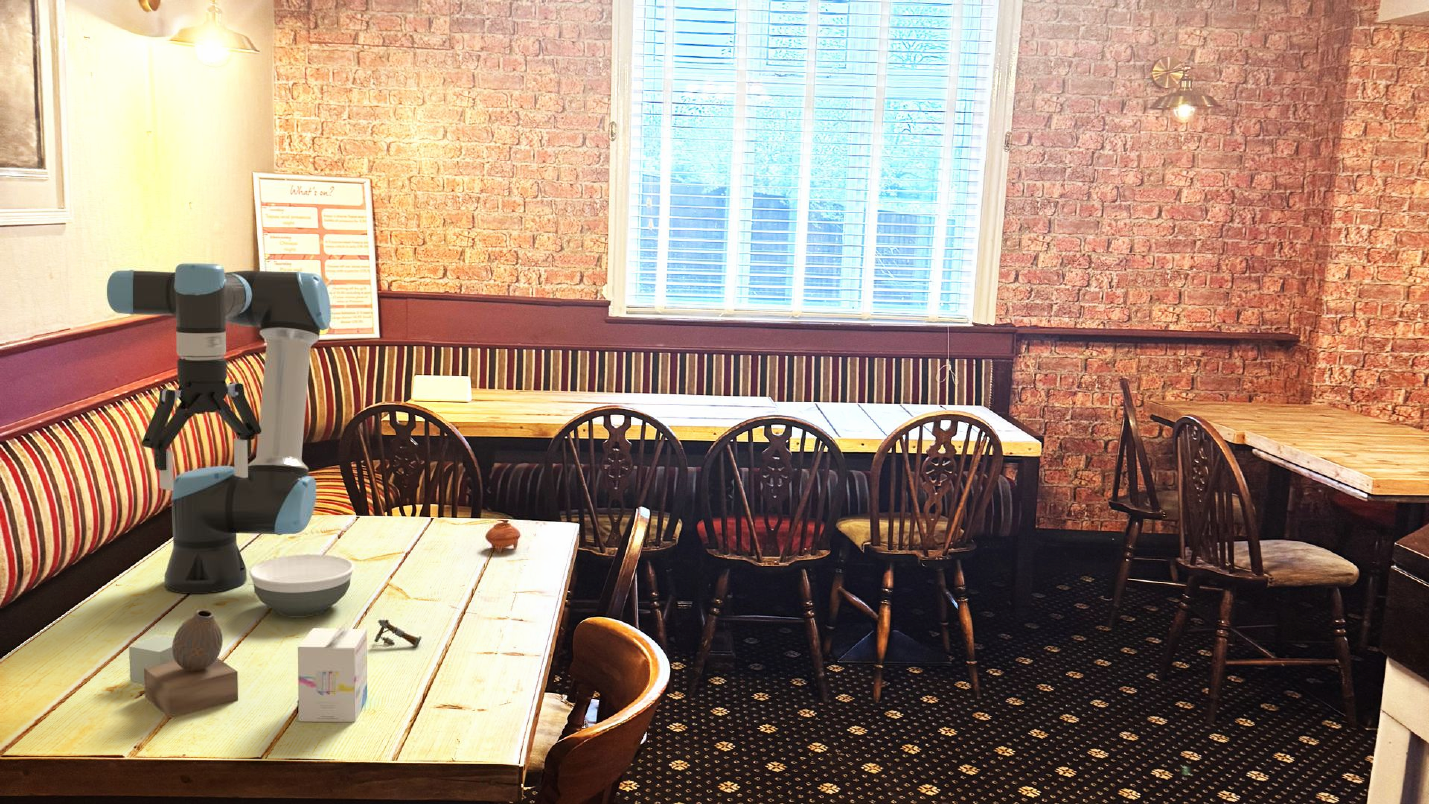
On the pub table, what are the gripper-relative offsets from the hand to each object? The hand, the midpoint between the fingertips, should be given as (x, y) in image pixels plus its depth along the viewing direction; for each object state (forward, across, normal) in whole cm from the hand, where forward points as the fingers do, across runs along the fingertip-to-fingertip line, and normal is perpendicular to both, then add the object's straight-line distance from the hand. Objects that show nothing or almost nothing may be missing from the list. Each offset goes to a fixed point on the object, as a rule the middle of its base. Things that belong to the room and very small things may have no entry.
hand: (205, 482), depth 192 cm
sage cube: (+29, -13, -7) cm, 32 cm away
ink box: (+29, -4, -38) cm, 48 cm away
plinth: (+29, -14, -18) cm, 37 cm away
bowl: (+29, +22, +4) cm, 37 cm away
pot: (+29, +77, +5) cm, 82 cm away
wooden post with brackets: (+29, +20, -24) cm, 43 cm away
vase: (+24, -14, -18) cm, 33 cm away
